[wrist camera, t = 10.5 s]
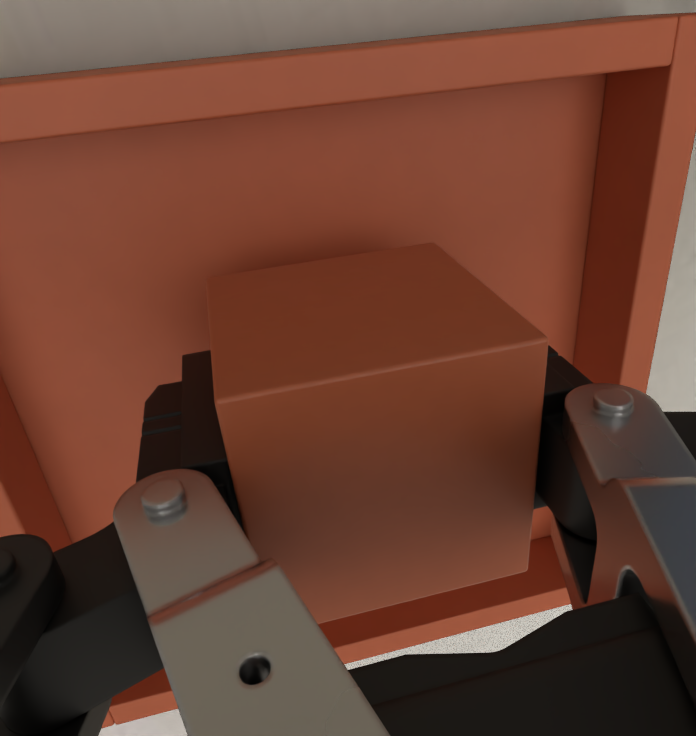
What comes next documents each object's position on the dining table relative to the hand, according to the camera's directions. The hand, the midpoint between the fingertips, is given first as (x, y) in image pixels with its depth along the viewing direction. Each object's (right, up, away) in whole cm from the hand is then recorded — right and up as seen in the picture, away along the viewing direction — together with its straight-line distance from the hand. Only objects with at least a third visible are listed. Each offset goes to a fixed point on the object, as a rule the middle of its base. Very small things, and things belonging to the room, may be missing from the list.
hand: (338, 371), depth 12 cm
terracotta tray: (-1, 0, +4) cm, 4 cm away
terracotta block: (0, 0, 0) cm, 0 cm away
